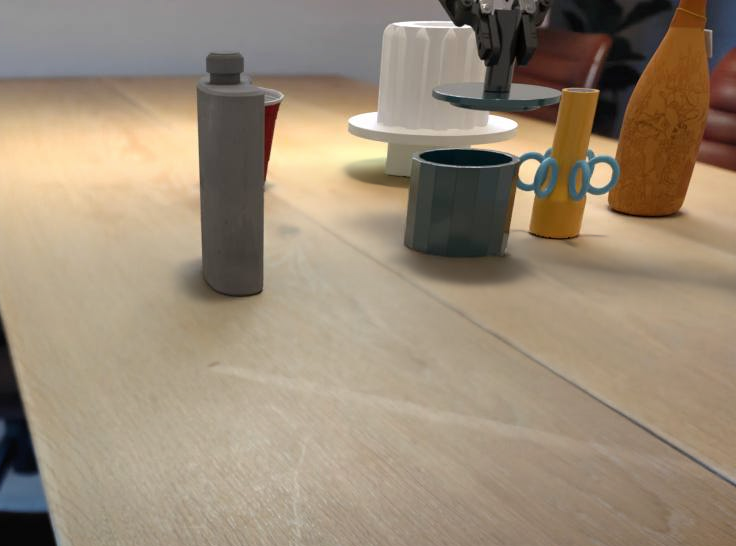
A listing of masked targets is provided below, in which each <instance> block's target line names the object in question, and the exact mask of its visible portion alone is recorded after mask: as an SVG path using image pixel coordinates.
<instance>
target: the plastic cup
mask: <svg viewBox="0 0 736 546" xmlns="http://www.w3.org/2000/svg"><path fill="white" fill-rule="evenodd" d="M257 87H258V88H260V89H262V90H263V91H264V92H265V120H264V186H265V185H266V181H267V174H268V169H269V162H270V160H271V154H272V153H271V152H272V147H273V140H274V135H275V128H276V121H277V119H278V115H279V114H278V113H279V110H280V106H281V104H282V102H283V100H284V99H285V95H284V94H283V93H282V92H281V91H278V90H275V89H271V88H265V87H260V86H257Z"/></svg>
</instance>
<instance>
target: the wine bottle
mask: <svg viewBox="0 0 736 546" xmlns="http://www.w3.org/2000/svg"><path fill="white" fill-rule="evenodd" d="M707 2H708V1H707V0H680V1H679V4H678V7H677V8H676V9H675V13H674V15H673V17H672V20H671V22H670V23H669V28H668V30H667V32H666V34H665V36H664V37H663V39H662V40H661V42H660V44H659V46H658V47H657V49H656V51H655V52H654V54H653V56H652V57H651V59H649V62H648V63H647V65H646V67H645V68H644V70H643V72H642V73H641V75H640V76H639V79H638V81H637V83H636V85H635V87H634V89H633V91H632V93H631V96H630V97H629V101H628V103H627V105H626V109H625V112H624V115H623V120H622V123H621V128H620V132H619V137H618V142H617V146H616V152H615V157H614V159H615V160H616V161H617V163H618V165H619V168H620V175H619V179H618V181H617V183H616V185H615V186H614V187H613V188H612V189H611V190H610V191H609V192H608V194H607V203H608V205H609V207H610V208H611V209H613V210H615V211H617V212H620V213H623V214H628V215H634V216H644V217H663V216H668V215H672V214H675V213H677V212H678V211H680V210H681V209H682V207H683V205H684V202H685V199H686V196H687V193H688V189H689V186H690V182H691V180H692V176H693V173H694V170H695V165H696V162H697V159H698V156H699V153H700V152H699V151H700V149H701V144H702V141H703V138H704V133H705V129H706V125H707V121H708V117H709V111H710V110H709V109H710V100H711V99H710V97H711V92H710V91H711V84H710V69H709V63H708V62H709V61H708V58H711V59H712V58H713V30H712V29H706V24H707V20H708V18H707V17H706V15H707V12H706V11H707V10H706V8H707ZM611 172H612V173H611V177H610V180H611V179H612V175H613V171H611Z"/></svg>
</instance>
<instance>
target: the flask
mask: <svg viewBox="0 0 736 546" xmlns="http://www.w3.org/2000/svg"><path fill="white" fill-rule="evenodd" d="M205 72H206V73H208V74H209V75H205V76H202V77H200V78H199V80H198V81H197V82H196V85H195V86H196V113H197V115H196V117H197V140H198V141H197V144H198V147H197V148H198V172H199V173H198V174H199V177H198V178H199V179H198V180H199V204H200V206H199V209H200V233H201V234H200V235H201V264H202V265H201V267H202V268H201V269H202V275H203V277H204V279H205V281H206V282H207V283H208V285H209V286H211V288H212V289H214V290H215V291H217V292H218V293H220V294H224V295H225V296H226V295H227V296H235V297H239V296H240V297H242V296H243V297H244V296H252V295H256V294H259V292H261V291H262V290H263V289H264V266H265V265H264V263H265V262H264V259H265V258H264V252H265V251H264V250H265V248H264V247H265V244H264V243H265V242H264V241H265V238H264V237H265V220H264V219H265V185H264V120H265V92H264V91H263V90H262V89H260V88H258V87H259V86H255V85H253V79H252V78H251V77H250V76H248V75H245V74H244V75H243V73H244V72H245V56H243V55H242V53H240V51H236V50H213V51H209V53H208V54H207V55H206V56H205Z"/></svg>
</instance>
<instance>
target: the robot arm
mask: <svg viewBox="0 0 736 546" xmlns="http://www.w3.org/2000/svg"><path fill="white" fill-rule="evenodd" d="M438 2H439V4H440V5H441V6H442V8H443V10H444V11H445V14H447V16H448V17H449V19H450V21H452V22H453V24H454V25H455V26H457V27H462V26H464V24H465V25H468V26H470V27H472V30H473V31H474V32H475V37H476V44H477V49H478V50H477V51H478V56H479V58H480V60H484V64H485V67H493V66H494V64H495V62H496V60H497V58H498V56H499V54H500V42H499V35H498V28H497V21H496V15H494V14H492V12H494V0H438ZM554 2H555V0H536V1H535V0H502V4H503V8H517V9H522V10H523V13H522V19H521V26H520V32H519V39H518V45H517V52H516V58H515V61H516V65H517V67H527V65H528V64H529V61H531V60H532V58H533V56H534V54H535V52H536V50H537V49H538V46H539V42H538V41H539V40H538V34H537V28H539V27H542V25H543V23H544V21H545V19H546V16H547V15H548V13H549V10H550V9H551V8H552V6H553V4H554Z"/></svg>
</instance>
